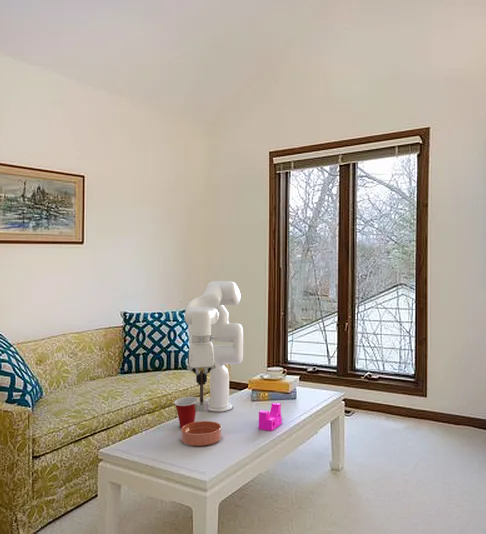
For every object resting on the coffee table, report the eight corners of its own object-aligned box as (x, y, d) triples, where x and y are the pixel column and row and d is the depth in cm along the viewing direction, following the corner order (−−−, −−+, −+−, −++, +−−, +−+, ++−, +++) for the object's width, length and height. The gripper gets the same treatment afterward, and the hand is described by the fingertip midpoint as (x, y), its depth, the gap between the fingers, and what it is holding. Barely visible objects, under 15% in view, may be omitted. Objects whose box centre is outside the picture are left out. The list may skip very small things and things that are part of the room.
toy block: (271, 430, 212) (271, 413, 211) (258, 428, 214) (258, 411, 214) (285, 420, 225) (285, 404, 225) (273, 418, 228) (273, 402, 228)
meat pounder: (191, 410, 200) (191, 371, 200) (200, 407, 205) (200, 368, 205) (202, 412, 197) (202, 372, 197) (211, 408, 202) (211, 369, 202)
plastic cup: (169, 427, 217) (168, 400, 217) (189, 421, 225) (189, 395, 225) (183, 432, 210) (183, 404, 209) (203, 426, 217) (203, 399, 217)
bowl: (173, 442, 198) (172, 430, 198) (199, 430, 212) (198, 418, 212) (204, 449, 190) (204, 437, 190) (229, 436, 204) (229, 424, 204)
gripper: (219, 337, 207) (219, 380, 207) (181, 338, 203) (181, 383, 203) (221, 339, 200) (221, 384, 200) (182, 341, 195) (182, 387, 195)
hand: (201, 383), depth 201 cm, fingers closed on meat pounder, 1 cm apart
